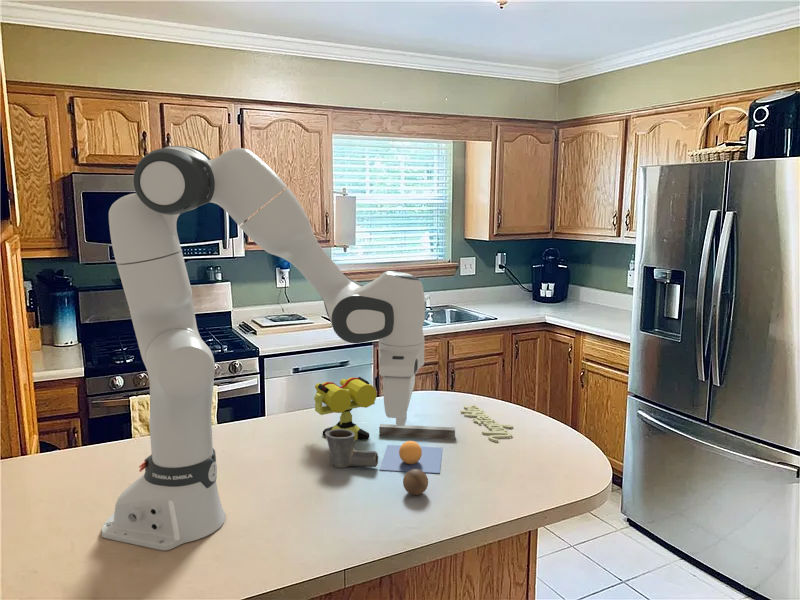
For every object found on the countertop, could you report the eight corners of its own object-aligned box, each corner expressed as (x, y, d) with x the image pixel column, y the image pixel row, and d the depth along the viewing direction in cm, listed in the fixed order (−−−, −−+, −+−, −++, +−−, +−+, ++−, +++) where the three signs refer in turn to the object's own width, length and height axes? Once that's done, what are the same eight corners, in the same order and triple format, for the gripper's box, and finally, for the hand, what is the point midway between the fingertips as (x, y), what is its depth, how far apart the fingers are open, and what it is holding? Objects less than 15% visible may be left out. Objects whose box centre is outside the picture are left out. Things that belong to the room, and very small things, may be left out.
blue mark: (379, 470, 141) (379, 469, 141) (387, 445, 155) (387, 444, 155) (439, 473, 140) (439, 472, 140) (442, 448, 154) (442, 447, 154)
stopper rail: (379, 435, 161) (379, 426, 161) (380, 432, 163) (380, 423, 163) (454, 439, 159) (455, 430, 159) (455, 436, 161) (455, 427, 161)
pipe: (373, 474, 140) (373, 441, 138) (321, 468, 142) (320, 436, 141) (380, 463, 145) (380, 431, 144) (329, 457, 148) (329, 426, 147)
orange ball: (400, 440, 148) (399, 463, 147) (398, 440, 143) (398, 463, 142) (422, 441, 148) (421, 464, 147) (421, 441, 143) (421, 464, 141)
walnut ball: (410, 465, 134) (398, 487, 132) (411, 462, 129) (398, 485, 127) (432, 478, 133) (420, 501, 131) (433, 475, 128) (420, 499, 126)
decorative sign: (527, 436, 160) (492, 441, 157) (526, 440, 160) (492, 444, 157) (484, 403, 185) (453, 406, 182) (484, 406, 185) (453, 409, 182)
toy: (358, 419, 173) (357, 368, 170) (382, 436, 161) (382, 382, 158) (302, 431, 164) (301, 378, 161) (324, 450, 152) (323, 393, 150)
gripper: (392, 341, 128) (392, 404, 130) (377, 369, 108) (377, 443, 110) (422, 342, 127) (421, 405, 129) (413, 371, 107) (412, 444, 109)
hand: (401, 423), depth 120 cm, fingers closed
